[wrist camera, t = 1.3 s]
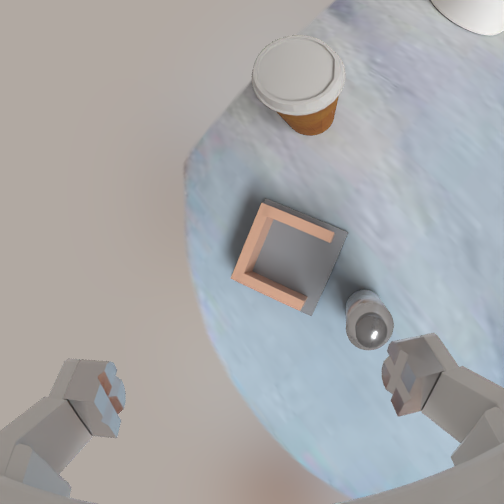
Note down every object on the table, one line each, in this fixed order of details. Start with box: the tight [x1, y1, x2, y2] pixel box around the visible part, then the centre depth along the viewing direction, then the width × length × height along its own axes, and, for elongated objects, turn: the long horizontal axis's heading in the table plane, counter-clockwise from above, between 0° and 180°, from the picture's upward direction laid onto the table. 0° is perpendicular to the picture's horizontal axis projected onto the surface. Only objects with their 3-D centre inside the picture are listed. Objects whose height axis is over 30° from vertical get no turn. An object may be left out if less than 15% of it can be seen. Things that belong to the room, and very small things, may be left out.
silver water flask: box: [346, 289, 394, 350], centre depth 32 cm, size 4×4×12 cm
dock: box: [231, 198, 348, 316], centre depth 38 cm, size 11×11×4 cm
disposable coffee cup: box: [252, 35, 345, 136], centre depth 33 cm, size 10×10×12 cm
